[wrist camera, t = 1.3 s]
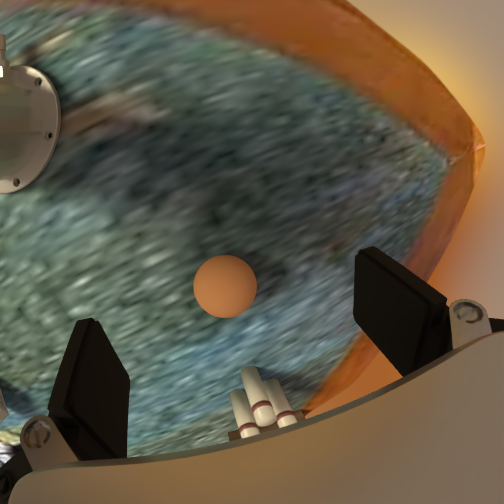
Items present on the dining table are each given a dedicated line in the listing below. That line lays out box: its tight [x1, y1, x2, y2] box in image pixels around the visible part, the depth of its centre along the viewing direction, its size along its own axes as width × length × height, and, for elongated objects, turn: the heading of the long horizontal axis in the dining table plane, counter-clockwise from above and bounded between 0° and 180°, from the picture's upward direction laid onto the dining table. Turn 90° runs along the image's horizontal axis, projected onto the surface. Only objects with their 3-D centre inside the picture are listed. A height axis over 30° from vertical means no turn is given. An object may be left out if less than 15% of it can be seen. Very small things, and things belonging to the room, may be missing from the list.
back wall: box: [228, 410, 305, 441], centre depth 43 cm, size 2×13×2 cm, turn 100°
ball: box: [194, 255, 257, 318], centre depth 28 cm, size 6×6×6 cm
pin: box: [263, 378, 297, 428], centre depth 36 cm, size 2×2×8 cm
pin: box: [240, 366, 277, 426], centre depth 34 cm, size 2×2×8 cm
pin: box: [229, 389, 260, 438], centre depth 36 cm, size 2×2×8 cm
